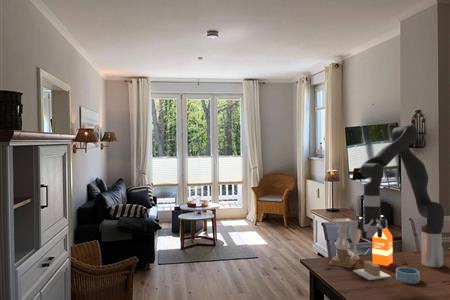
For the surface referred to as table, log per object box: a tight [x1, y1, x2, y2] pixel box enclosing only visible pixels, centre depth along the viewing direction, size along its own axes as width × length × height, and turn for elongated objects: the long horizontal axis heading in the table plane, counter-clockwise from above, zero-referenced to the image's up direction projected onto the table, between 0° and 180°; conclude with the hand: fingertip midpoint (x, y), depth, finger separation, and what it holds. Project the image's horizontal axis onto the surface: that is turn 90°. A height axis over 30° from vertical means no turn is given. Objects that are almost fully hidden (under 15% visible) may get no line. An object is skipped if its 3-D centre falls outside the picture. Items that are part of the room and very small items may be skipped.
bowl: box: [395, 266, 421, 285], centre depth 169 cm, size 10×10×5 cm
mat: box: [352, 270, 393, 281], centre depth 176 cm, size 13×13×1 cm
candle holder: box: [329, 217, 357, 269], centre depth 193 cm, size 11×11×24 cm
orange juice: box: [371, 226, 394, 267], centre depth 194 cm, size 8×9×20 cm
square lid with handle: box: [352, 260, 392, 281], centre depth 176 cm, size 12×12×5 cm
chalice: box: [348, 224, 362, 261], centre depth 202 cm, size 7×7×18 cm
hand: (371, 238), depth 176 cm, fingers open, 8 cm apart
